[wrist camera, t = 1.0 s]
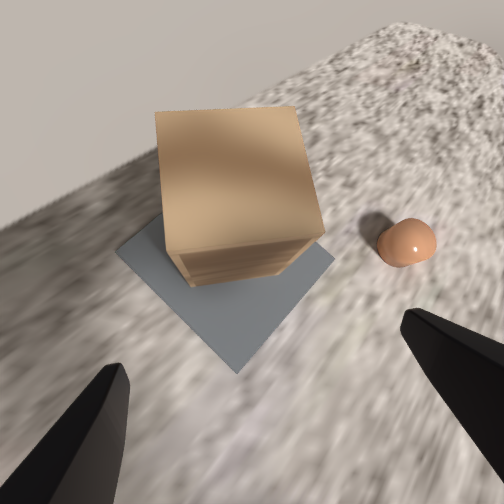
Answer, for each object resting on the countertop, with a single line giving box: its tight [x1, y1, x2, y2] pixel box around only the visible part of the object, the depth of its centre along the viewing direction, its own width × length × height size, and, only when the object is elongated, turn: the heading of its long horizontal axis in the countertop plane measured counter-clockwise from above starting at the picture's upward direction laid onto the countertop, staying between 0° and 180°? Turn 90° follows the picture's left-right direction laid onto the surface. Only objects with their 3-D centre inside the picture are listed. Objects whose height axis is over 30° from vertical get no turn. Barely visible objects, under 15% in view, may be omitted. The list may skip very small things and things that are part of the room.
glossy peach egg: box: [377, 218, 437, 268], centre depth 23 cm, size 4×4×2 cm
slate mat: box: [115, 212, 335, 374], centre depth 22 cm, size 13×12×1 cm
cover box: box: [155, 106, 325, 287], centre depth 17 cm, size 7×7×10 cm
